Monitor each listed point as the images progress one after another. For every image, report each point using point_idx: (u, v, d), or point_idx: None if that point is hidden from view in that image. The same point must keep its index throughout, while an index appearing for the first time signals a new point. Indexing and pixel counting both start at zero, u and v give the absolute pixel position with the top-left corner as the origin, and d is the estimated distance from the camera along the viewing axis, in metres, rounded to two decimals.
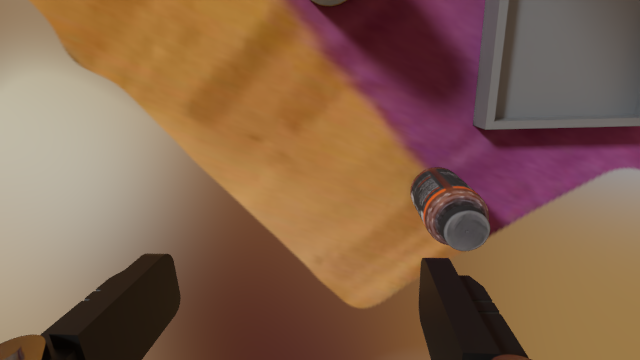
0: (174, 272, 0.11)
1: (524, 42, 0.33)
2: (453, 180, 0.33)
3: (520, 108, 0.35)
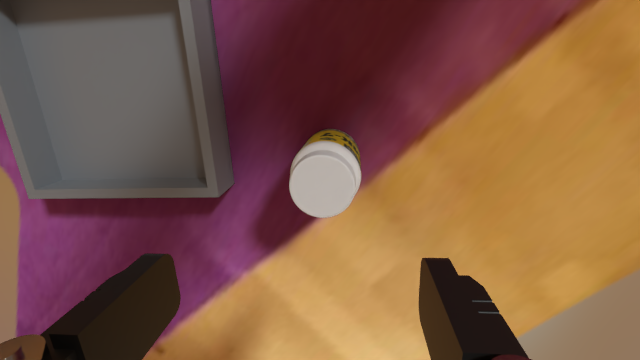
0: (174, 272, 0.11)
1: (107, 32, 0.25)
2: None
3: (33, 44, 0.26)
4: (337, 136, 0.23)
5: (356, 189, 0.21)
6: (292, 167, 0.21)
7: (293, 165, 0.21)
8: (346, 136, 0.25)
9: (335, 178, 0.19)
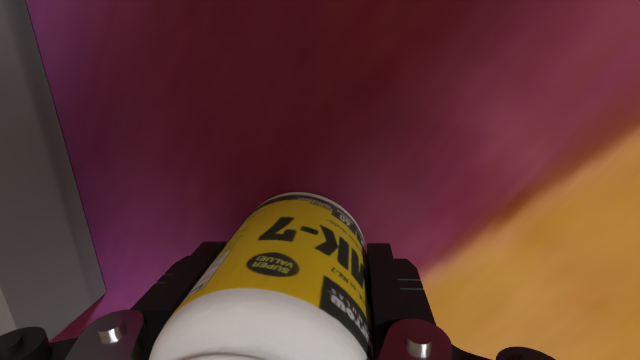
0: None
1: None
2: None
3: None
4: (307, 235, 0.08)
5: None
6: None
7: None
8: (334, 219, 0.10)
9: None
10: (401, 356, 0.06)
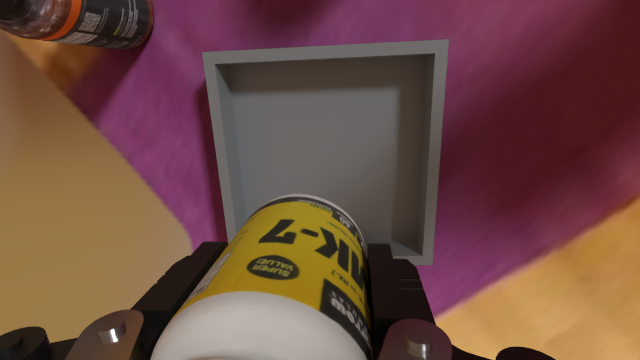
0: None
1: (326, 103, 0.25)
2: None
3: (245, 112, 0.26)
4: (308, 238, 0.08)
5: None
6: None
7: None
8: (334, 221, 0.10)
9: None
10: (401, 356, 0.06)
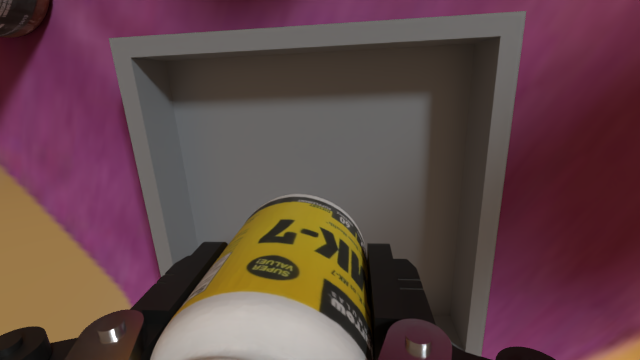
0: None
1: (316, 118, 0.16)
2: None
3: (195, 132, 0.17)
4: (308, 238, 0.08)
5: None
6: None
7: None
8: (334, 222, 0.10)
9: None
10: (401, 356, 0.06)
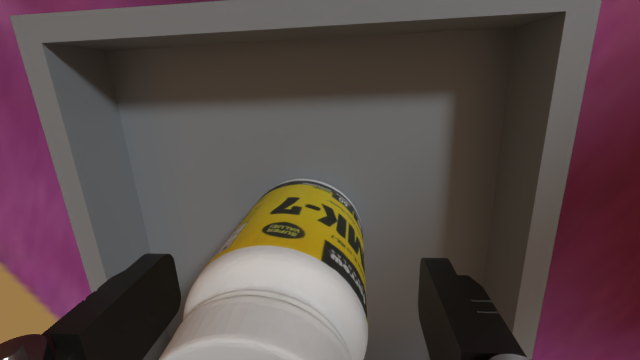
0: (175, 272, 0.11)
1: (303, 126, 0.13)
2: None
3: (147, 143, 0.13)
4: (311, 211, 0.10)
5: None
6: (184, 313, 0.08)
7: (186, 309, 0.08)
8: (334, 200, 0.12)
9: None
10: None
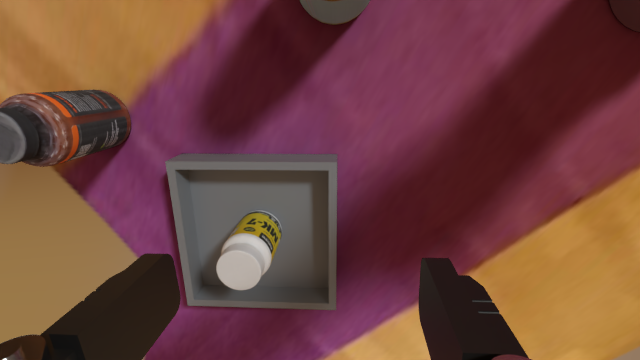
0: (174, 272, 0.11)
1: (259, 191, 0.34)
2: (94, 129, 0.28)
3: (200, 195, 0.35)
4: (259, 223, 0.32)
5: (267, 267, 0.30)
6: (222, 251, 0.29)
7: (222, 249, 0.29)
8: (269, 219, 0.33)
9: (247, 265, 0.27)
10: None
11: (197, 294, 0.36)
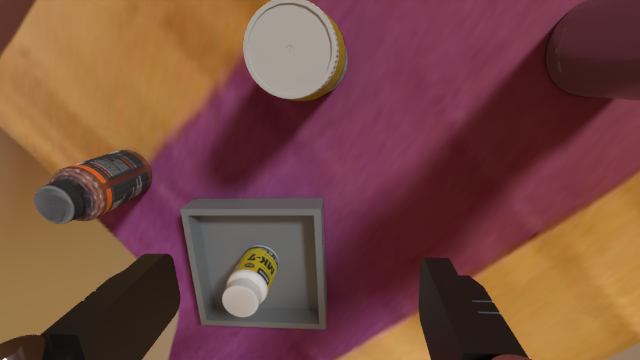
0: (174, 272, 0.11)
1: (259, 229, 0.41)
2: (123, 188, 0.35)
3: (209, 233, 0.41)
4: (258, 259, 0.38)
5: (264, 296, 0.36)
6: (227, 284, 0.36)
7: (227, 283, 0.36)
8: (266, 254, 0.40)
9: (247, 297, 0.34)
10: None
11: (209, 315, 0.43)
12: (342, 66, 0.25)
